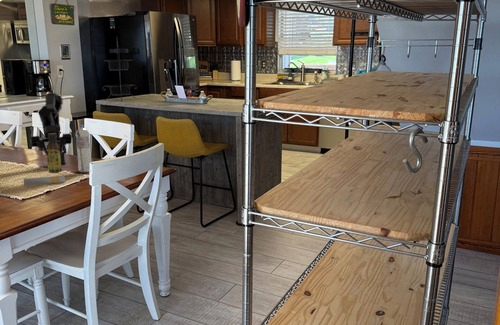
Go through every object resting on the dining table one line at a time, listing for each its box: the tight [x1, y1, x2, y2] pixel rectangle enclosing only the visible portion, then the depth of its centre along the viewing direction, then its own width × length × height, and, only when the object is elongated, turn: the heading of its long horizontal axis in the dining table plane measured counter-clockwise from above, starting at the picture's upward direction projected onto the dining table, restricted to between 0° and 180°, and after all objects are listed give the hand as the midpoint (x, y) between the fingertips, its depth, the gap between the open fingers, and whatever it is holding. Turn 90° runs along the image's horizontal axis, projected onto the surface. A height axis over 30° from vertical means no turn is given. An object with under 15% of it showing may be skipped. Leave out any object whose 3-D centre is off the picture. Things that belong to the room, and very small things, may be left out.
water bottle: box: [75, 124, 92, 173], centre depth 236 cm, size 7×7×25 cm
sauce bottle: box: [46, 133, 62, 174], centre depth 220 cm, size 6×6×20 cm
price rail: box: [23, 175, 66, 186], centre depth 215 cm, size 18×1×3 cm, turn 108°
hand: (54, 154), depth 219 cm, fingers closed on sauce bottle, 6 cm apart
